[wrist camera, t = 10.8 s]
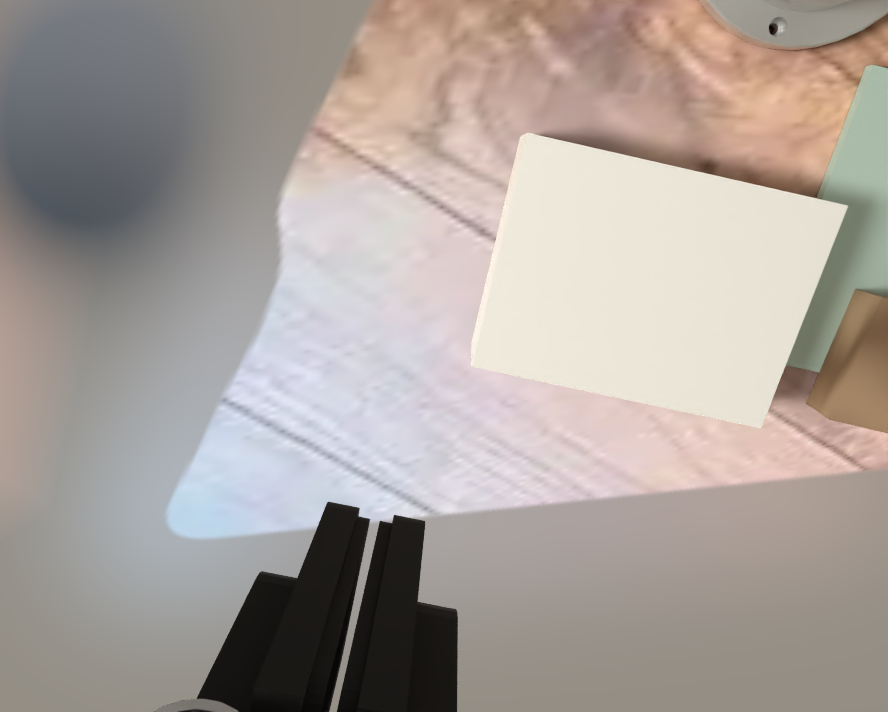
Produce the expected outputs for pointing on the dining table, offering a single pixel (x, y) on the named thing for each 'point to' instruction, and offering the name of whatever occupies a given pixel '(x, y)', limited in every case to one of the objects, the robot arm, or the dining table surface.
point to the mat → (852, 220)
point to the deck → (649, 280)
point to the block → (856, 366)
